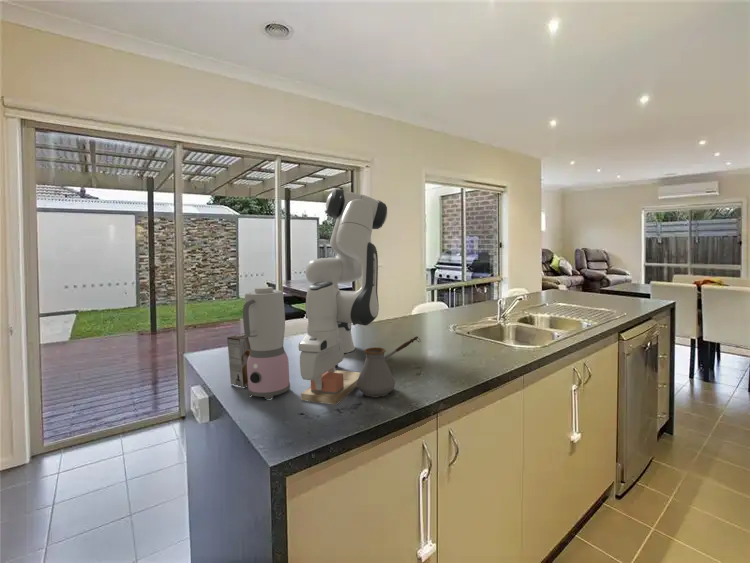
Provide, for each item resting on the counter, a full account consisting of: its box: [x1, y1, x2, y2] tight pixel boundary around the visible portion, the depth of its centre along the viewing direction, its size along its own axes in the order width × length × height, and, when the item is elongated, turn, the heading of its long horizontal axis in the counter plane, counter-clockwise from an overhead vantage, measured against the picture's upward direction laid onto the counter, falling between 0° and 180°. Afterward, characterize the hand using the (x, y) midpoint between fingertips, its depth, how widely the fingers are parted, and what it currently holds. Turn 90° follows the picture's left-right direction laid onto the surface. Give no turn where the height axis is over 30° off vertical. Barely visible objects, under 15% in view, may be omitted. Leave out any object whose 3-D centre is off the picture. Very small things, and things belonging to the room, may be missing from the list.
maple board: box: [300, 369, 361, 405], centre depth 122 cm, size 11×22×2 cm, turn 160°
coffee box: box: [227, 332, 251, 387], centre depth 128 cm, size 9×6×16 cm
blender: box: [242, 286, 291, 400], centre depth 117 cm, size 16×12×32 cm
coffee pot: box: [356, 336, 422, 398], centre depth 119 cm, size 21×12×15 cm, turn 117°
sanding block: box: [310, 371, 344, 395], centre depth 115 cm, size 8×5×4 cm, turn 70°
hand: (324, 385), depth 115 cm, fingers closed on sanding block, 5 cm apart
